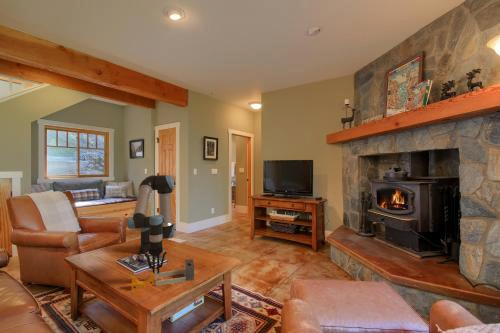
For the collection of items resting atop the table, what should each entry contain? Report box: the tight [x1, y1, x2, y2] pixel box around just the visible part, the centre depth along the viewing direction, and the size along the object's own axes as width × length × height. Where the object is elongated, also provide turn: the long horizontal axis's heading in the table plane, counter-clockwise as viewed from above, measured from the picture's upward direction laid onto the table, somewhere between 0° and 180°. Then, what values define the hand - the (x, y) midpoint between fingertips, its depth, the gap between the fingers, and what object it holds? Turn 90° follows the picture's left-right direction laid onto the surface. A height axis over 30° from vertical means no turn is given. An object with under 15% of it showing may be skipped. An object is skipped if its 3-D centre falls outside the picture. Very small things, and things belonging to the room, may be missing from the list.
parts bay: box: [155, 268, 187, 287], centre depth 149 cm, size 13×17×2 cm
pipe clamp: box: [131, 271, 155, 291], centre depth 140 cm, size 12×4×6 cm, turn 116°
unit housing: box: [184, 258, 195, 282], centre depth 153 cm, size 11×5×10 cm, turn 18°
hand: (155, 278), depth 147 cm, fingers closed
